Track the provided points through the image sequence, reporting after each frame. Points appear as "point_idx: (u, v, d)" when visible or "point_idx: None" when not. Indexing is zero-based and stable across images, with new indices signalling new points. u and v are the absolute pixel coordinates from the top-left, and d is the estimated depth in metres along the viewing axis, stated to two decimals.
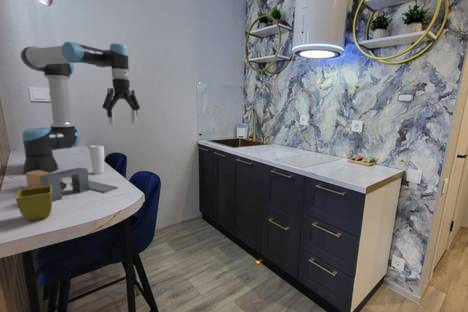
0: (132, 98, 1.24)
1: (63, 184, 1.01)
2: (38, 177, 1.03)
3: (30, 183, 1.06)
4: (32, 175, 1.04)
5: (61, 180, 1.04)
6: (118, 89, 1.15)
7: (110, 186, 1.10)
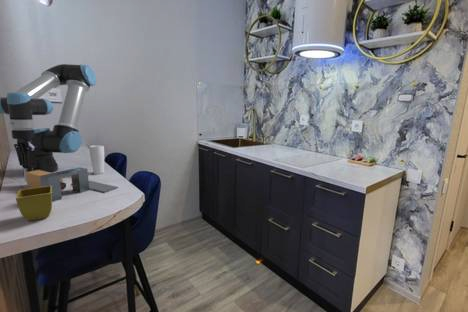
0: None
1: (63, 184, 1.01)
2: (38, 177, 1.03)
3: (29, 183, 1.06)
4: (32, 175, 1.04)
5: (61, 180, 1.04)
6: (17, 140, 1.07)
7: (110, 186, 1.10)
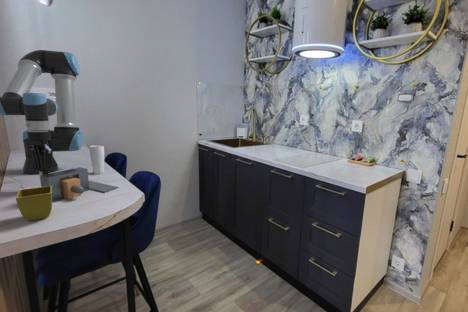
0: None
1: (81, 188, 0.96)
2: None
3: None
4: None
5: (78, 184, 0.99)
6: (32, 142, 1.02)
7: (110, 186, 1.10)
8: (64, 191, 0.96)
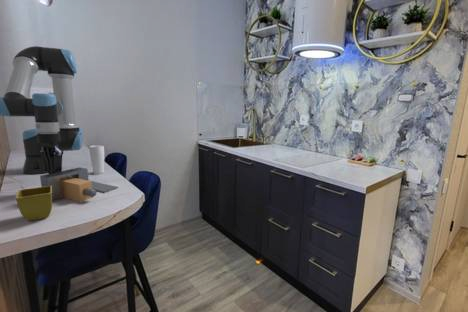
0: None
1: (93, 191, 0.94)
2: (66, 183, 0.96)
3: None
4: None
5: (90, 187, 0.97)
6: (42, 144, 1.00)
7: (110, 186, 1.10)
8: (75, 194, 0.94)
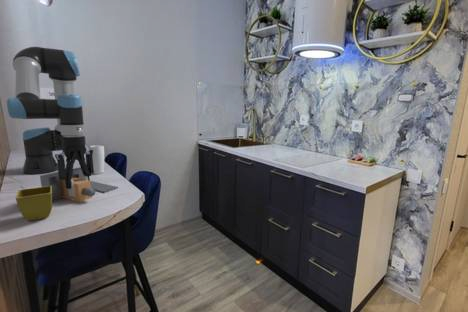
0: (87, 159, 0.99)
1: (92, 191, 0.94)
2: None
3: None
4: None
5: (89, 186, 0.97)
6: (68, 150, 0.90)
7: (110, 186, 1.10)
8: None
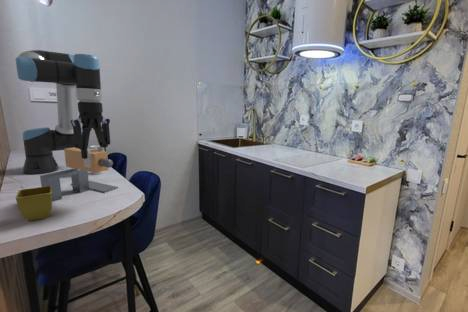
0: (104, 128, 0.92)
1: (109, 161, 0.87)
2: (80, 153, 0.89)
3: (69, 161, 0.92)
4: (72, 151, 0.90)
5: (106, 157, 0.90)
6: (84, 116, 0.83)
7: (110, 186, 1.10)
8: None
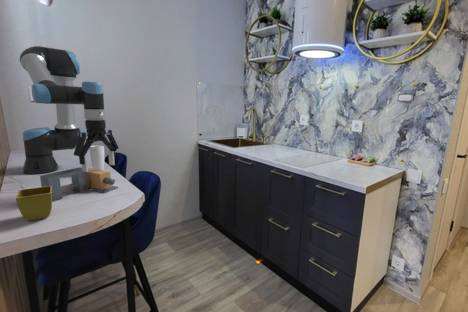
0: (109, 138, 1.11)
1: (112, 180, 1.06)
2: None
3: None
4: None
5: (109, 176, 1.09)
6: (92, 132, 1.02)
7: None
8: (96, 182, 1.06)
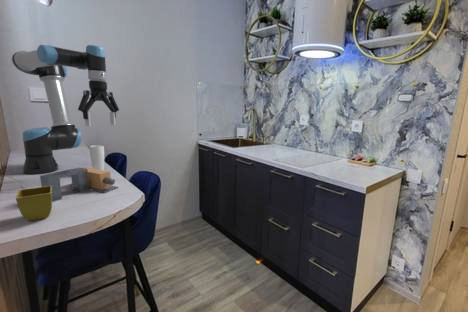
0: (110, 100, 1.23)
1: (112, 180, 1.06)
2: None
3: None
4: None
5: (109, 176, 1.09)
6: (95, 91, 1.14)
7: None
8: (96, 182, 1.06)
